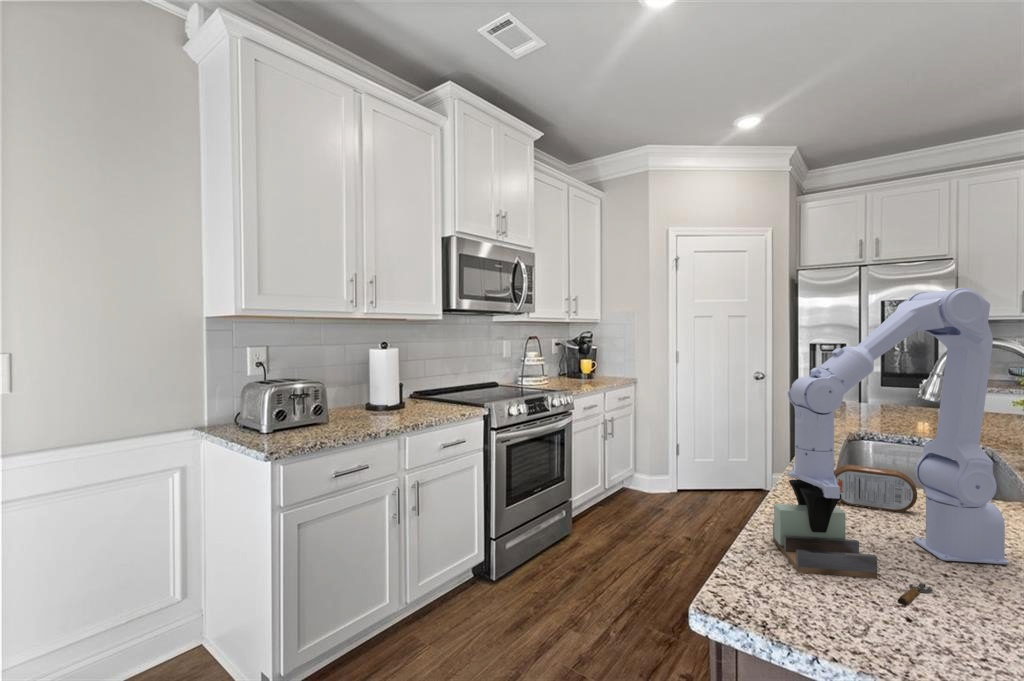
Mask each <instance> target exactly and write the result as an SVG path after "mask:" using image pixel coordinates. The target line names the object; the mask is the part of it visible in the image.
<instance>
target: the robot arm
mask: <svg viewBox="0 0 1024 681" xmlns="http://www.w3.org/2000/svg"><path fill="white" fill-rule="evenodd" d="M990 309H991V303H990V302H989V301H987V300H986V299H985V298H984V297H983V296H982V295H981V294H980V293H979V292H978V291H976V290H974V289H972V288H969V287H957V288H955V289H949V290H948V289H947V290H939V291H938V290H937V291H931V292H930V291H921V292H917V293H916V292H915V293H914V294H912V295H911V296H909V297H908V298H907V299H906V300H905V301H902V302H900V303H899V304H898V305H897V308H896V309H895V311H894V312H893V313H892V314H890V315H889V317H887V318H886V319H885V320H884V321H883V322H882V323H881V324H880V325H879V326H877V327H876V328H875V329H874V330H873V331H872V332H870V334H869V335H867V336H866V337H865V338H864V339H862V341H860V342H859V343H858V344H857V345H856V346H852V345H851V346H848V345H847V346H843V347H842V348H841V347H840V348H839V347H837V348H835V349H834V350H832V352H831V354H832V356H831V357H829V359H827V360H826V361H825V362H823V363H822V364H821V365H820V366H818V367H813V368H812V369H811V370H810V375H805V376H800V377H799V378H797V379H795V380H794V381H793V383H792V384H791V388H790V390H789V391H787V398H788V400H789V402H790V403H791V404H792V406H793V408H794V462H792V467H791V468H792V469H791V470H787V476H788V477H789V478H791V479H789V482H788V484H790V487H791V489H792V490H793V493H794V496H795V498H796V501H797V505H807V510H808V516H809V524H810V528H811V531H813V532H821V533H826V531H827V528H828V525H829V522H830V518H831V515H832V512H833V510H834V508H835V506H836V507H837V505H838V504H839V502H840V501H841V497H842V496H841V494H840V487H839V486H838V485H837V483H836V477H835V475H834V471H835V410H838V409H839V408H840V407H841V406H842V403H843V400H844V396H845V394H846V393H848V392H849V391H850V390H851V389H853V388H854V387H855V386H857V385H858V384H859V383H860V382H862V381H863V380H864V379H866V378H867V377H868V376H869V375H870V374H872V373H873V372H874V369H875V363H874V362H875V360H876V359H878V358H880V357H882V356H883V355H884V354H886V353H887V352H888V351H890V350H892V348H894V347H895V346H896V345H898V344H900V343H901V342H902V341H904V340H906V338H908V337H910V336H911V335H912V334H914V333H917V332H925V333H927V334H928V335H931V336H933V337H935V339H937V340H938V341H939V342H940V343H941V344H942V345H943V346H945V347H946V348H947V349H946V359H945V364H944V372H943V373H944V375H943V380H942V389H941V396H940V403H939V410H938V419H937V427H936V433H935V438H934V439H933V440H932V441H930V442H928V443H927V444H925V445H924V446H923V449H922V455H921V457H920V458H919V460H918V461H917V462H916V464H915V467H914V474H915V475H914V476H915V479H916V480H917V482H918V484H920V485H921V486H922V487H923V488H922V490H923V493H924V494H925V538H920V537H919V538H918V537H917V538H916V537H914V538H913V541H912V542H915V543H916V544H917V545H919V546H920V547H922V548H923V549H925V550H926V551H927V552H929V553H930V554H931V555H934V556H935V557H936V558H938V559H940V560H941V561H949V562H965V563H966V562H967V563H979V564H981V563H982V564H993V565H994V564H995V565H1009V561H1008V560H1007V559H1006V558H1005V554H1006V552H1005V551H1006V549H1005V548H1006V547H1005V546H1006V545H1005V544H1006V543H1005V542H1006V541H1005V538H1006V536H1005V535H1006V533H1005V532H1006V531H1005V530H1006V524H1005V520H1004V516H1003V513H1002V512H1001V510H1000V508H998V506H996V504H994V503H993V502H991V501H992V500H993V498H994V496H995V494H996V493H997V481H996V478H995V475H994V471H993V470H994V461H993V460H992V459H991V457H990V456H988V454H987V453H986V452H985V451H984V449H982V447H981V446H980V443H981V435H982V426H983V420H984V411H985V405H986V396H987V390H988V384H989V383H988V381H989V373H990V368H991V358H992V353H993V352H992V351H993V345H994V344H993V342H994V337H993V334H992V331H991V327H990V325H989V316H990Z"/></svg>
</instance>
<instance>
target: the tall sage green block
mask: <svg viewBox="0 0 1024 681" xmlns="http://www.w3.org/2000/svg"><path fill="white" fill-rule="evenodd" d="M846 519H847V518H846V512H845V511H843V510H842V509H841V508H840V507H838V506H837V505H836V506H835V508H834V510H833V512H832V515H831V518H830V522H829V525H828V528H827V531H826V533H821V532H813V531H811V528H810V524H809V516H808V510H807V505H798V504H790V503H789V504H787V503H786V504H785V503H774V504H773V523H774V538H775V539H776V541H777V542H778V543H779V544H780V545H783V546H784V535H786V536H802V537H819V538H835V539H847V538H846V534H847V533H846V532H847V531H846V528H847V526H846V525H847V524H846Z"/></svg>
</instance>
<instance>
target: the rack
mask: <svg viewBox="0 0 1024 681" xmlns="http://www.w3.org/2000/svg"><path fill="white" fill-rule="evenodd" d="M772 541H773V543H774V544H775V545H776V546H777V547H778V549H779V550H780V551H781V552H782V554H783V555H784V556H785V558H786V559H787V560H788V561H789V563H790V564H791V565H792V566H793V568H794V569H795V570H796V571H797V573H802V574H806V573H807V574H817V575H818V574H819V575H832V576H833V575H834V576H846V577H859V578H872V579H878V556H877V555H876V554H870V553H860V541H859V540H858V539H851V538H850V539H848V538H846V539H835V538H819V537H802V536H786V535H784V546H783V545H780V544H779V543H778V542H777V541H776V539H775V538H774V522H773V523H772Z"/></svg>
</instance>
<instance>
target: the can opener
mask: <svg viewBox="0 0 1024 681" xmlns="http://www.w3.org/2000/svg"><path fill="white" fill-rule="evenodd" d="M909 587H910V589H909V590H908V591H907V592H904V593H903V594H902V595H900V597H898V599H897V604H900V605H903V606H907V605H910V603H912V602H913V601H914V599H915V598H917V597H918V596H919V595H920V593H923V594H926V595H927V594H931V593H933V588H932V587H931V585H930V586H928V587H927V588H926V589H924V587H926V583H924V582H922V581H920V582H919V584H917V586H916V587H915V586H914V584H911V583H910V584H909Z"/></svg>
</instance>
